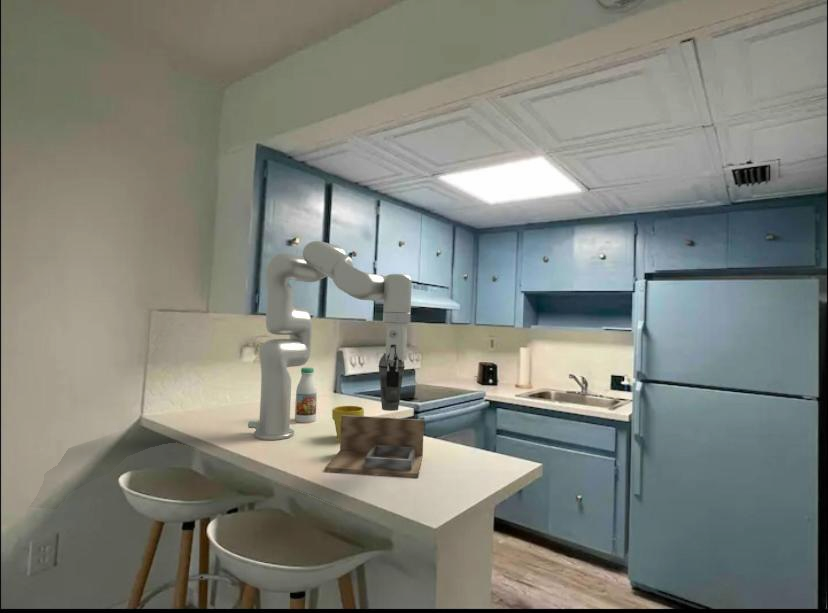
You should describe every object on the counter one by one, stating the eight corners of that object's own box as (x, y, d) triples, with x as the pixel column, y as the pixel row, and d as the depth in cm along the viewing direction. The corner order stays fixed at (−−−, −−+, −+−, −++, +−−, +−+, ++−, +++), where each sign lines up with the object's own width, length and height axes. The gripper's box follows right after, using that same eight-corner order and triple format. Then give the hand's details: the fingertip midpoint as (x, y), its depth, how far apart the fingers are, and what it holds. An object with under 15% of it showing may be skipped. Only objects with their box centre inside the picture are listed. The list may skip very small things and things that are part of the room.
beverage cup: (398, 412, 116) (401, 336, 117) (372, 410, 118) (375, 335, 119) (406, 408, 123) (409, 335, 124) (382, 405, 125) (384, 334, 126)
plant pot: (324, 438, 144) (325, 408, 145) (346, 432, 153) (347, 404, 153) (347, 444, 138) (348, 413, 139) (369, 438, 147) (370, 408, 147)
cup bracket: (324, 471, 114) (326, 428, 114) (340, 452, 129) (342, 415, 130) (418, 477, 111) (419, 433, 112) (422, 458, 127) (423, 419, 128)
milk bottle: (290, 421, 166) (292, 367, 167) (305, 417, 173) (308, 366, 173) (304, 424, 162) (306, 369, 163) (319, 420, 168) (322, 368, 169)
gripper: (406, 319, 112) (404, 390, 112) (413, 320, 130) (411, 381, 129) (377, 318, 113) (375, 389, 112) (387, 319, 130) (385, 380, 130)
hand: (394, 384), depth 121 cm, fingers closed on beverage cup, 7 cm apart
